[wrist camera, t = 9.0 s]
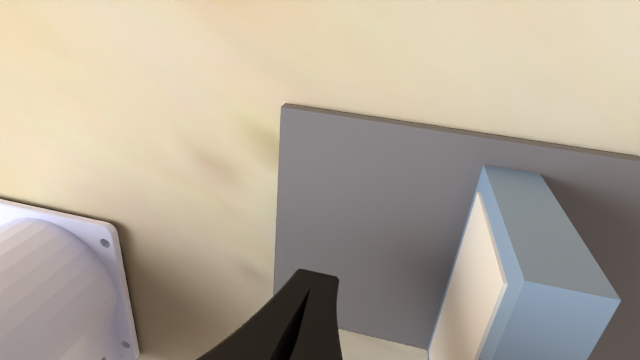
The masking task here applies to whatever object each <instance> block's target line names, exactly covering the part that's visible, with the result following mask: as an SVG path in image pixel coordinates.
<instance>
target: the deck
mask: <svg viewBox="0 0 640 360" xmlns="http://www.w3.org/2000/svg"><path fill="white" fill-rule="evenodd" d="M620 302H621V299H620V298H619V296H618V295H617V293H616V292H615V290H614V288H613V287H612V285H611V284H610V282H609V281H608V279H607V278H606V276H605V274H604V273H603V271H602V270H601V268H600V267H599V265H598V263H597V262H596V260H595V259H594V257H593V256H592V254H591V253H590V251H589V249H588V248H587V246H586V245H585V243H584V242H583V240H582V239H581V237H580V235H579V234H578V232H577V231H576V229H575V228H574V226H573V225H572V223H571V221H570V220H569V218H568V217H567V215H566V214H565V212H564V210H563V209H562V207H561V206H560V204H559V203H558V201H557V200H556V198H555V196H554V195H553V193H552V192H551V190H550V189H549V187H548V186H547V184H546V182H545V181H544V179H543V178H542V176H541V175H540V174H538V173H532V172H526V171H519V170H513V169H507V168H501V167H495V166H489V165H483V168H482V171H481V174H480V178H479V181H478V184H477V188H476V191H475V194H474V197H473V201H472V204H471V207H470V211H469V214H468V217H467V221H466V224H465V227H464V231H463V234H462V237H461V240H460V244H459V247H458V250H457V254H456V257H455V260H454V264H453V267H452V270H451V274H450V277H449V280H448V283H447V287H446V290H445V293H444V297H443V300H442V303H441V307H440V310H439V313H438V316H437V320H436V323H435V326H434V330H433V333H432V336H431V340H430V343H429V346H428V360H587V359H588V357H589V355H590V354H591V352H592V350H593V348H594V347H595V345H596V343H597V342H598V340H599V338H600V336H601V335H602V333H603V331H604V329H605V328H606V326H607V324H608V323H609V321H610V319H611V317H612V316H613V314H614V312H615V310H616V309H617V307H618V305H619V304H620Z"/></svg>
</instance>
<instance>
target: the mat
mask: <svg viewBox="0 0 640 360" xmlns="http://www.w3.org/2000/svg"><path fill="white" fill-rule="evenodd" d="M483 165H489V166H495V167H501V168H507V169H513V170H519V171H526V172H532V173H538V174H540V175H541V176H542V178H543V179H544V181H545V182H546V184H547V186H548V187H549V189H550V190H551V192H552V193H553V195H554V196H555V198H556V200H557V201H558V203H559V204H560V206H561V207H562V209H563V210H564V212H565V214H566V215H567V217H568V218H569V220H570V221H571V223H572V225H573V226H574V228H575V229H576V231H577V232H578V234H579V235H580V237H581V239H582V240H583V242H584V243H585V245H586V246H587V248H588V249H589V251H590V253H591V254H592V256H593V257H594V259H595V260H596V262H597V263H598V265H599V267H600V268H601V270H602V271H603V273H604V274H605V276H606V278H607V279H608V281H609V282H610V284H611V285H612V287H613V288H614V290H615V292H616V293H617V295H618V296H619V298H620V299H621V302H620V304H619V305H618V307H617V309H616V310H615V312H614V314H613V316H612V317H611V319H610V321H609V323H608V324H607V326H606V328H605V329H604V331H603V333H602V335H601V336H600V338H599V340H598V342H597V343H596V345H595V347H594V348H593V350H592V352H591V354H590V355H589V357H588V359H587V360H640V157H639V156H632V155H626V154H619V153H612V152H606V151H599V150H592V149H586V148H579V147H572V146H566V145H559V144H552V143H546V142H539V141H532V140H526V139H519V138H512V137H506V136H499V135H492V134H486V133H479V132H472V131H466V130H459V129H452V128H446V127H439V126H432V125H426V124H419V123H412V122H406V121H399V120H392V119H386V118H379V117H372V116H366V115H359V114H352V113H346V112H339V111H332V110H326V109H319V108H312V107H306V106H299V105H292V104H286V103H285V104H284V105H283V106H282V107H281V119H280V144H279V169H278V194H277V219H276V243H275V268H274V293H273V296H274V295H275V294H276V293H277V292H278V291H279V290H280V289H281V288H282V287H283V286H284V284H285V283H286V282H287V281H288V280H289V279H290V278H291V276H292V275H293V274H294V273H295V271H296V270H298V269H300V268H301V269H305V270H310V271H314V272H319V273H323V274H328V275H333V276H337V278H338V279H339V287H338V294H337V323H338V329H343V330H347V331H351V332H355V333H359V334H363V335H368V336H372V337H376V338H380V339H384V340H388V341H393V342H397V343H401V344H405V345H409V346H413V347H417V348H422V349H426V350H428V346H429V343H430V340H431V336H432V333H433V330H434V326H435V323H436V320H437V316H438V313H439V310H440V307H441V303H442V300H443V297H444V293H445V290H446V287H447V283H448V280H449V277H450V274H451V270H452V267H453V264H454V260H455V257H456V254H457V250H458V247H459V244H460V240H461V237H462V234H463V231H464V227H465V224H466V221H467V217H468V214H469V211H470V207H471V204H472V201H473V197H474V194H475V191H476V188H477V184H478V181H479V178H480V174H481V171H482V168H483Z"/></svg>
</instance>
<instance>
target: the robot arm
mask: <svg viewBox="0 0 640 360" xmlns="http://www.w3.org/2000/svg"><path fill="white" fill-rule="evenodd" d="M338 287H339V279H338V278H337V276H333V275H328V274H323V273H319V272H314V271H310V270H305V269H301V268H300V269H298V270H296V271H295V273H294V274H293V275H292V276H291V278H290V279H289V280H288V281H287V282H286V283H285V284H284V286H283V287H282V288H281V289H280V290H279V291H278V292H277V293H276V294H275V295H274V296H273V297H272V298H271V299H270V300H269V301H268V302H267V303H266V304H265V305H264V306H263V307H262V308H261V309H260V310H259V311H258V312H257V313H256V314H255V315H254V316H252V317H251V318H250V319H249V320H248V321H247V322H246V323H244V324H243V325H242V326H241V327H240V328H239V329H237V330H236V331H235V332H234V333H233V334H231V335H230V336H229V337H227V338H226V339H225V340H223V341H222V342H221V343H219V344H218V345H217V346H215V347H214V348H213V349H211V350H210V351H208V352H207V353H205V354H204V355H202V356H201V357H199V358H198V359H196V360H343V359H342V354H341V348H340V341H339V334H338V323H337V294H338ZM139 355H140V353H139V348H138V342H137V337H136V331H135V326H134V320H133V315H132V309H131V304H130V298H129V293H128V287H127V282H126V276H125V271H124V265H123V260H122V254H121V249H120V243H119V238H118V233H117V230H116V228H115V227H114V226H113V225H112V224H110V223H108V222H104V221H99V220H95V219H90V218H85V217H81V216H76V215H72V214H67V213H62V212H58V211H53V210H48V209H44V208H39V207H35V206H30V205H25V204H21V203H16V202H12V201H7V200H2V199H0V360H137V358H138V357H139Z"/></svg>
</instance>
